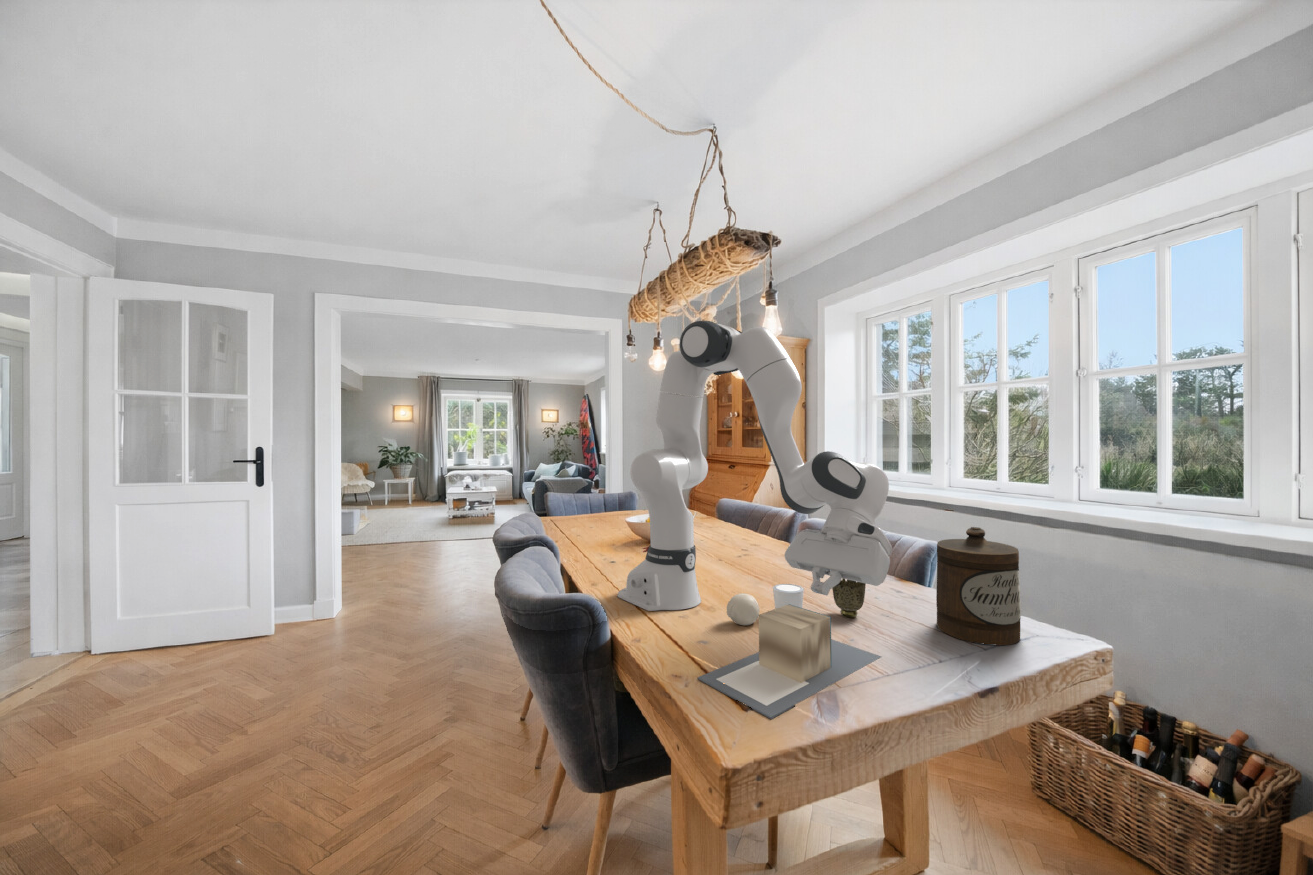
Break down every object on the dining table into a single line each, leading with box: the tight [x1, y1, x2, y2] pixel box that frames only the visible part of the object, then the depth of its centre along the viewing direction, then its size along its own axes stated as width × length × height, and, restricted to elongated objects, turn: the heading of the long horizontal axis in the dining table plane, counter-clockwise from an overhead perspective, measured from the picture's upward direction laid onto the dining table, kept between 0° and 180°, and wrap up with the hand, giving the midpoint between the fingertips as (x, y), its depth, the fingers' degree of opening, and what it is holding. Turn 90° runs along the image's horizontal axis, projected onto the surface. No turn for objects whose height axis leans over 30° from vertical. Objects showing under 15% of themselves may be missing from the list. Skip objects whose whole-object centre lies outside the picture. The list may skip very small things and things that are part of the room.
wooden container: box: [935, 526, 1022, 646], centre depth 105 cm, size 15×15×22 cm
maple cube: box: [758, 604, 832, 683], centre depth 90 cm, size 9×9×9 cm
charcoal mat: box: [697, 638, 883, 720], centre depth 90 cm, size 32×16×1 cm, turn 128°
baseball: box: [726, 593, 760, 627], centre depth 111 cm, size 7×7×7 cm
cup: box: [831, 578, 866, 619], centre depth 115 cm, size 8×7×8 cm
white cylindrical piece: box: [772, 583, 805, 609], centre depth 115 cm, size 7×7×7 cm
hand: (818, 592), depth 94 cm, fingers closed
